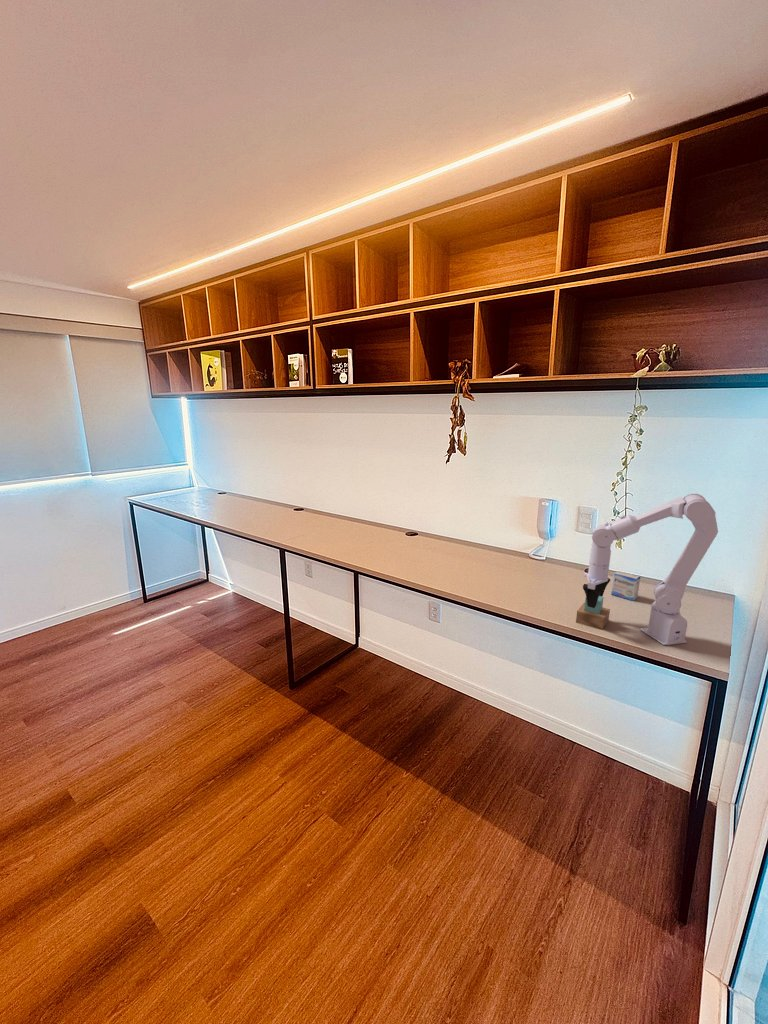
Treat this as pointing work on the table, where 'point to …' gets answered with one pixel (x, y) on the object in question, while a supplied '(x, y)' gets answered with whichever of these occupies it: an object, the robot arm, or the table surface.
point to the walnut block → (593, 617)
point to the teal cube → (597, 607)
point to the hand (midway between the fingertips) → (594, 602)
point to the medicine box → (625, 585)
